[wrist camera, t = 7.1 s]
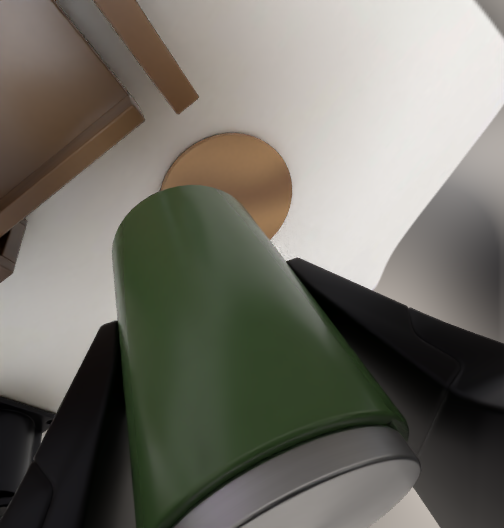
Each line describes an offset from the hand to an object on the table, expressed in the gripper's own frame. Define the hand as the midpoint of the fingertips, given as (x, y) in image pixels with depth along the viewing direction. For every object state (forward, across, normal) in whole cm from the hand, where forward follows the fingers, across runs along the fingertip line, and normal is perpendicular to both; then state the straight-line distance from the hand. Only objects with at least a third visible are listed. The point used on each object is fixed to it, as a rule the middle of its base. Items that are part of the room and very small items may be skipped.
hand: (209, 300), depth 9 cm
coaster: (+13, -4, +5) cm, 14 cm away
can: (+2, 0, 0) cm, 2 cm away
